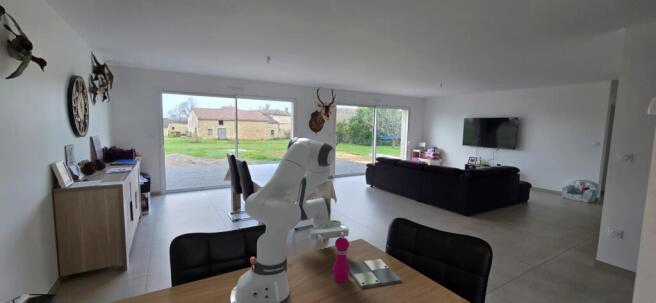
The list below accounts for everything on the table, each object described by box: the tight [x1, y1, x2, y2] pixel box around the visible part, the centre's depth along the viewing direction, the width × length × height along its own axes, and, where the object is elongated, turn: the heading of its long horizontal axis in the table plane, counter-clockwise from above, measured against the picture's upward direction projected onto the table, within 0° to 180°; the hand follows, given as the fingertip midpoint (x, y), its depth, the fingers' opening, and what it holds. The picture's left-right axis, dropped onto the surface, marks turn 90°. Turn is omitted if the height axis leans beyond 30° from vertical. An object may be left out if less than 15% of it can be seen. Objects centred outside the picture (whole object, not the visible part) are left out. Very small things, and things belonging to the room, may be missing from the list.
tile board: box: [348, 258, 402, 290], centre depth 124 cm, size 19×19×1 cm
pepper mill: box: [332, 235, 350, 284], centre depth 118 cm, size 7×7×20 cm
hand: (333, 239), depth 130 cm, fingers open, 8 cm apart
